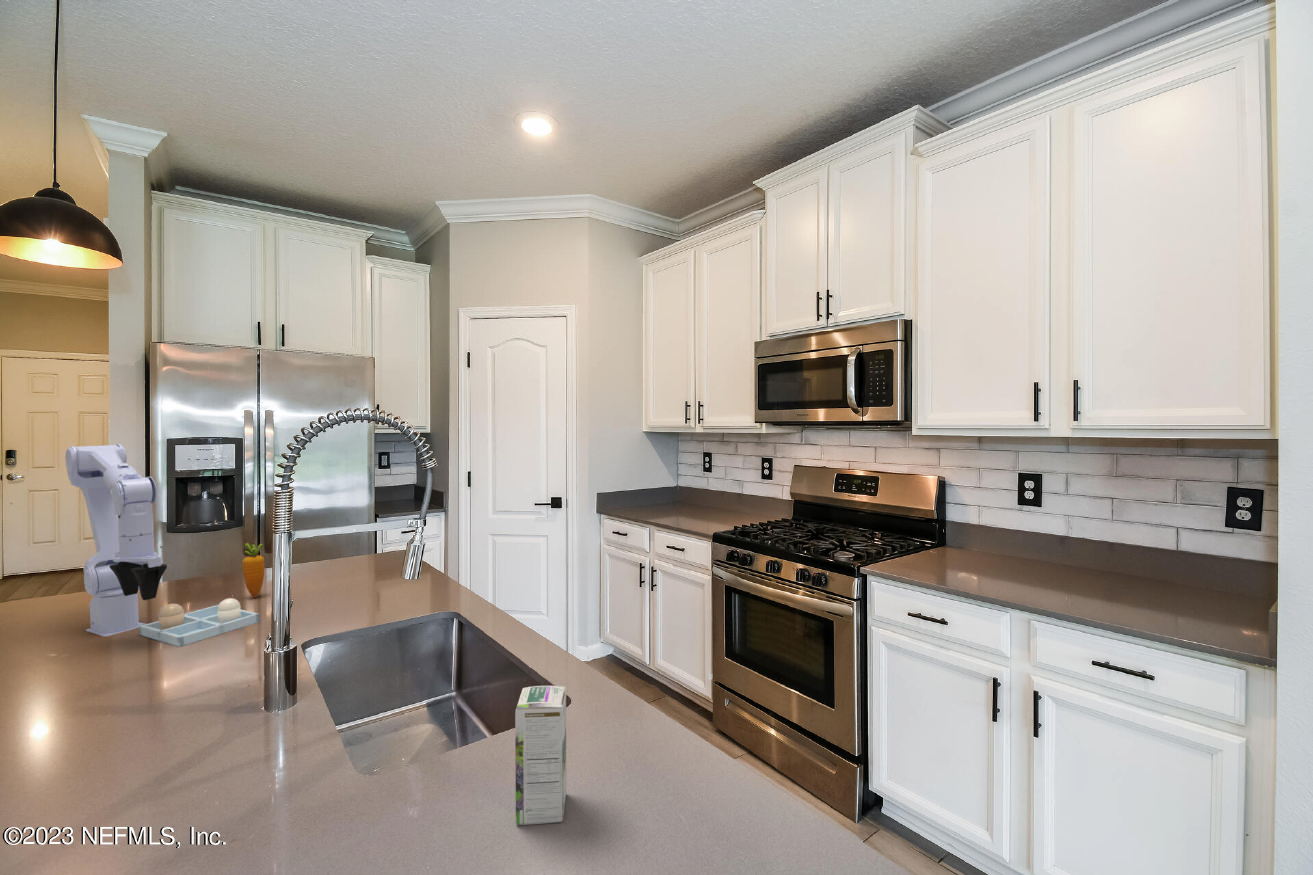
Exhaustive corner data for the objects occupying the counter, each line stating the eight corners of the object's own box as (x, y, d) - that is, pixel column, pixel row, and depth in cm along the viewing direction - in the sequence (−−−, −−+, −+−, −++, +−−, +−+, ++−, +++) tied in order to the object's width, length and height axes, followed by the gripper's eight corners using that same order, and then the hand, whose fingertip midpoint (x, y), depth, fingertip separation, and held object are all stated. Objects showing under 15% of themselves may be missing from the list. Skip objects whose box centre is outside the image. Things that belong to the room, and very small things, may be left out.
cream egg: (213, 626, 139) (212, 600, 138) (234, 620, 143) (233, 594, 142) (224, 629, 137) (223, 602, 137) (245, 623, 141) (244, 597, 140)
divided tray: (139, 637, 134) (139, 626, 134) (219, 614, 149) (219, 604, 149) (179, 649, 127) (179, 637, 127) (259, 624, 142) (259, 613, 142)
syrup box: (522, 796, 77) (519, 685, 77) (568, 793, 78) (566, 683, 77) (515, 826, 72) (512, 708, 71) (565, 823, 72) (563, 705, 72)
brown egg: (155, 632, 135) (154, 605, 135) (178, 626, 139) (176, 599, 139) (166, 635, 133) (164, 608, 133) (188, 629, 137) (187, 602, 137)
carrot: (270, 595, 164) (268, 540, 164) (256, 600, 159) (254, 544, 159) (253, 594, 165) (251, 540, 164) (239, 600, 160) (236, 544, 159)
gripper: (96, 535, 129) (99, 597, 129) (131, 540, 122) (134, 606, 123) (136, 529, 135) (139, 588, 136) (171, 534, 129) (174, 596, 129)
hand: (139, 596), depth 130 cm, fingers open, 7 cm apart
